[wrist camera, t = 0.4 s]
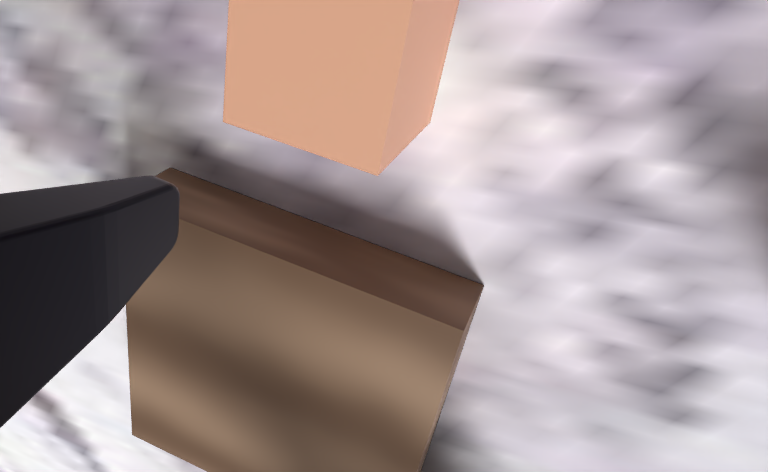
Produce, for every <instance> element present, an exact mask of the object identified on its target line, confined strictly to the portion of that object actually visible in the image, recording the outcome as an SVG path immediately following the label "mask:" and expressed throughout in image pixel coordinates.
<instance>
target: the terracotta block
mask: <svg viewBox="0 0 768 472" xmlns="http://www.w3.org/2000/svg"><path fill="white" fill-rule="evenodd" d="M458 4H459V0H229V10H228V31H227V51H226V71H225V91H224V111H223V122H225V123H228V124H230V125H233V126H236V127H239V128H242V129H245V130H248V131H251V132H253V133H256V134H259V135H262V136H265V137H268V138H271V139H273V140H276V141H279V142H282V143H285V144H288V145H291V146H293V147H296V148H299V149H302V150H305V151H308V152H311V153H314V154H316V155H319V156H322V157H325V158H328V159H331V160H334V161H336V162H339V163H342V164H345V165H348V166H351V167H354V168H357V169H359V170H362V171H365V172H368V173H371V174H374V175H377V176H378V175H379V174H380V173H381V172H382V171H383V170H384V169H385V168H386V167H387V166H388V165H389V164H390V163H391V162H392V161H393V160H394V159H395V158H396V157H397V156H398V155H399V154H400V153H401V152H402V151H403V150H404V149H405V148H406V146H407V145H408V144H409V143H410V142H411V141H412V140H413V139H414V138H415V137H416V136H417V135H418V134H419V133H420V132H421V131H422V130H423V129H424V128H425V127H426V126H427V125H428V124H429V123H430V121H431V117H432V112H433V108H434V104H435V100H436V96H437V92H438V87H439V83H440V79H441V75H442V71H443V66H444V62H445V58H446V54H447V50H448V46H449V41H450V37H451V33H452V29H453V25H454V21H455V16H456V12H457V8H458Z"/></svg>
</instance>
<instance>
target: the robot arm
mask: <svg viewBox="0 0 768 472" xmlns="http://www.w3.org/2000/svg"><path fill="white" fill-rule="evenodd" d="M179 205H180V193H179V190H178V188H177V187H176V186H175V185H174V184H172V183H169V182H167V181H165V180H162V179H160V178H157V177H154V176H142V177H134V178H126V179H118V180H110V181H101V182H93V183H85V184H77V185H69V186H60V187H52V188H44V189H36V190H28V191H19V192H11V193H3V194H0V428H1V427H2V426H3V425H4V424H5V423H6V422H7V421H8V420H9V419H10V418H11V417H12V416H13V415H14V414H15V413H16V412H17V411H19V410H20V409H21V408H22V407H23V406H24V405H25V404H26V403H27V402H28V401H29V400H30V399H31V398H32V397H33V396H34V395H35V394H36V393H37V392H38V391H39V390H40V389H42V388H43V387H44V386H45V385H46V384H47V383H48V382H49V381H50V380H51V379H52V378H53V377H54V376H55V375H56V374H57V373H58V372H59V371H60V370H61V369H62V368H63V367H65V366H66V365H67V364H68V363H69V362H70V361H71V360H72V359H73V358H74V357H75V356H76V355H77V354H78V353H79V352H80V351H81V350H82V349H83V348H84V347H85V346H86V345H88V344H89V343H90V342H91V341H92V340H93V339H94V338H95V337H96V336H97V335H98V334H99V333H100V332H101V331H102V330H103V329H104V328H105V327H106V326H107V325H108V324H109V323H110V322H111V321H112V319H113V318H114V317H115V316H116V315H117V314H118V313H119V312H120V311H121V309H122V308H123V307H124V306H125V305H126V303H127V302H128V301H129V300H130V299H131V297H132V296H133V295H134V294H135V293H136V292H137V290H138V289H139V288H140V287H141V286H142V284H143V283H144V282H145V281H146V280H147V278H148V277H149V276H150V275H151V274H152V273H153V271H154V270H155V269H156V268H157V267H158V265H159V264H160V263H161V262H162V261H163V260H164V258H165V257H166V256H167V255H168V254H169V252H170V251H171V250H172V248H173V247H174V245H175V243H176V241H177V237H178V232H179Z"/></svg>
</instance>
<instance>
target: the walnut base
mask: <svg viewBox="0 0 768 472" xmlns="http://www.w3.org/2000/svg"><path fill="white" fill-rule="evenodd" d="M155 177H157V178H160V179H162V180H165V181H167V182H169V183H172V184H174V185H175V186H176V187H177V188H178V190H179V193H180V205H179V232H178V237H177V241H176V243H175V245H174V247H173V248H172V250H171V251H170V252H169V254H168V255H167V256H166V257H165V258H164V260H163V261H162V262H161V263H160V264H159V265H158V267H157V268H156V269H155V270H154V271H153V273H152V274H151V275H150V276H149V277H148V278H147V280H146V281H145V282H144V283H143V284H142V286H141V287H140V288H139V289H138V290H137V292H136V293H135V294H134V295H133V296H132V297H131V299H130V300H129V301H128V302H127V303H126V315H127V336H128V357H129V378H130V399H131V419H132V435H134V436H136V437H138V438H140V439H142V440H144V441H146V442H148V443H150V444H152V445H154V446H156V447H158V448H160V449H162V450H164V451H166V452H168V453H170V454H173V455H175V456H177V457H179V458H181V459H183V460H185V461H187V462H189V463H191V464H193V465H195V466H197V467H199V468H201V469H203V470H205V471H207V472H421V469H422V466H423V463H424V460H425V457H426V454H427V451H428V449H429V446H430V443H431V440H432V437H433V434H434V431H435V428H436V425H437V422H438V419H439V416H440V413H441V410H442V407H443V404H444V402H445V399H446V396H447V393H448V390H449V387H450V384H451V381H452V378H453V375H454V372H455V369H456V366H457V363H458V360H459V357H460V355H461V352H462V349H463V346H464V343H465V340H466V337H467V334H468V331H469V328H470V325H471V322H472V319H473V316H474V313H475V310H476V308H477V305H478V302H479V299H480V296H481V293H482V290H483V287H484V285H482V284H479V283H476V282H474V281H471V280H468V279H466V278H463V277H460V276H458V275H455V274H452V273H450V272H447V271H444V270H442V269H439V268H436V267H434V266H431V265H428V264H426V263H423V262H420V261H418V260H415V259H412V258H410V257H407V256H405V255H402V254H399V253H397V252H394V251H391V250H389V249H386V248H383V247H381V246H378V245H375V244H373V243H370V242H367V241H365V240H362V239H359V238H357V237H354V236H351V235H349V234H346V233H343V232H341V231H338V230H335V229H333V228H330V227H327V226H325V225H322V224H319V223H317V222H314V221H311V220H309V219H306V218H303V217H301V216H298V215H295V214H293V213H290V212H287V211H285V210H282V209H279V208H277V207H274V206H271V205H269V204H266V203H263V202H261V201H258V200H255V199H253V198H250V197H247V196H245V195H242V194H239V193H237V192H234V191H231V190H229V189H226V188H223V187H221V186H218V185H215V184H213V183H210V182H207V181H205V180H202V179H199V178H197V177H194V176H191V175H189V174H186V173H183V172H181V171H178V170H175V169H173V168H169V169H167V170H165V171H163V172H162V173H160V174H158V175H156V176H155Z"/></svg>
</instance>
